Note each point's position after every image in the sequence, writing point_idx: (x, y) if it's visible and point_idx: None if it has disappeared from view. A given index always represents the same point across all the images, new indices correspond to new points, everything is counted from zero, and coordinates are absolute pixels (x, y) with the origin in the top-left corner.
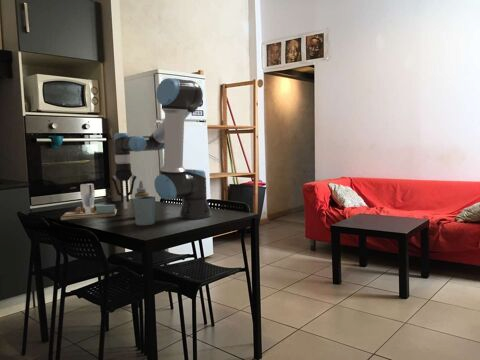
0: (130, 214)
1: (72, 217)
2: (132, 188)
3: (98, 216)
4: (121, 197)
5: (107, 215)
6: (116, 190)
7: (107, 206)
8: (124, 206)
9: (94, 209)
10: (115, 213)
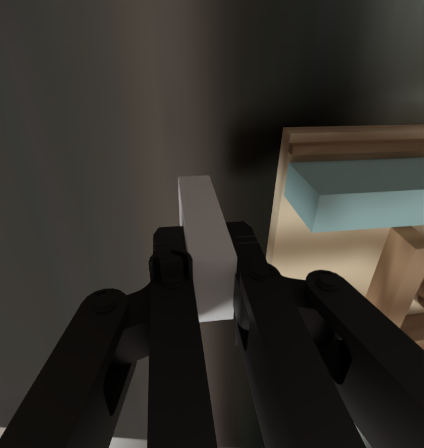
0: (147, 164)
1: None
2: (36, 401)
3: (417, 126)
4: (260, 257)
5: (348, 129)
6: (396, 332)
7: (385, 185)
8: (206, 186)
9: (420, 286)
10: (274, 214)
